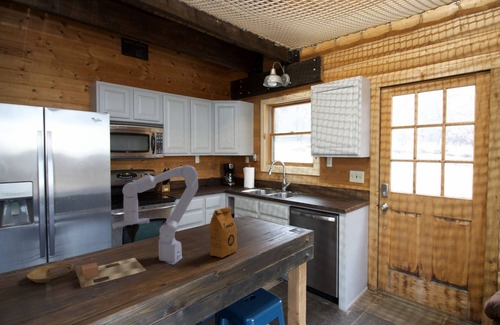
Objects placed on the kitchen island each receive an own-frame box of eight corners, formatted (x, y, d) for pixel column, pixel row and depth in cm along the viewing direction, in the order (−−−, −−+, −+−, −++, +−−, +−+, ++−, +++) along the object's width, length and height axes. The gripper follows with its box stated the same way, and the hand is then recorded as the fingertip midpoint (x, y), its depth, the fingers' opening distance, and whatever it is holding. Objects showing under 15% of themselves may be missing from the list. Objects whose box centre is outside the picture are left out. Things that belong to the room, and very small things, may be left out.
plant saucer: (50, 268, 115) (49, 262, 115) (82, 269, 113) (82, 263, 113) (16, 285, 100) (16, 278, 100) (53, 286, 99) (52, 279, 99)
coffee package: (240, 252, 130) (239, 207, 129) (221, 260, 120) (221, 211, 120) (225, 248, 136) (224, 204, 135) (206, 255, 127) (206, 208, 126)
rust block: (96, 272, 107) (96, 262, 107) (98, 276, 103) (98, 266, 103) (81, 275, 104) (81, 265, 104) (83, 280, 100) (82, 269, 100)
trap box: (134, 260, 122) (134, 253, 122) (146, 273, 108) (146, 265, 108) (76, 274, 108) (75, 266, 108) (81, 291, 95) (81, 282, 95)
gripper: (145, 207, 124) (146, 236, 124) (110, 211, 115) (111, 243, 115) (150, 209, 118) (151, 240, 119) (114, 214, 109) (115, 247, 110)
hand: (131, 242), depth 117 cm, fingers closed
